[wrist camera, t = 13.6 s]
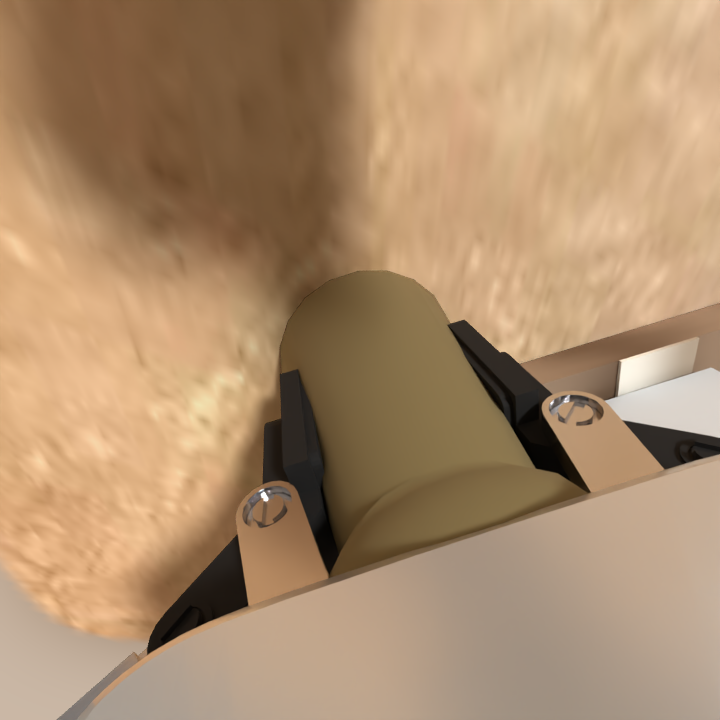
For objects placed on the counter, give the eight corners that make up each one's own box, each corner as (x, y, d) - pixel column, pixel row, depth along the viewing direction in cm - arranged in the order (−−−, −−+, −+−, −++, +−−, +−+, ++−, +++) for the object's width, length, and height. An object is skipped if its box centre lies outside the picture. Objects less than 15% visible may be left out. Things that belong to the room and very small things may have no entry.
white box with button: (711, 367, 15) (811, 419, 12) (687, 464, 17) (765, 525, 15) (558, 415, 15) (625, 479, 12) (556, 507, 17) (611, 578, 14)
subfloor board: (943, 235, 17) (1006, 243, 15) (817, 493, 24) (850, 514, 23) (505, 368, 16) (528, 390, 14) (517, 594, 23) (533, 623, 22)
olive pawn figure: (481, 349, 15) (845, 713, 5) (362, 451, 16) (490, 893, 7) (375, 228, 12) (738, 536, 3) (240, 361, 13) (162, 899, 4)
